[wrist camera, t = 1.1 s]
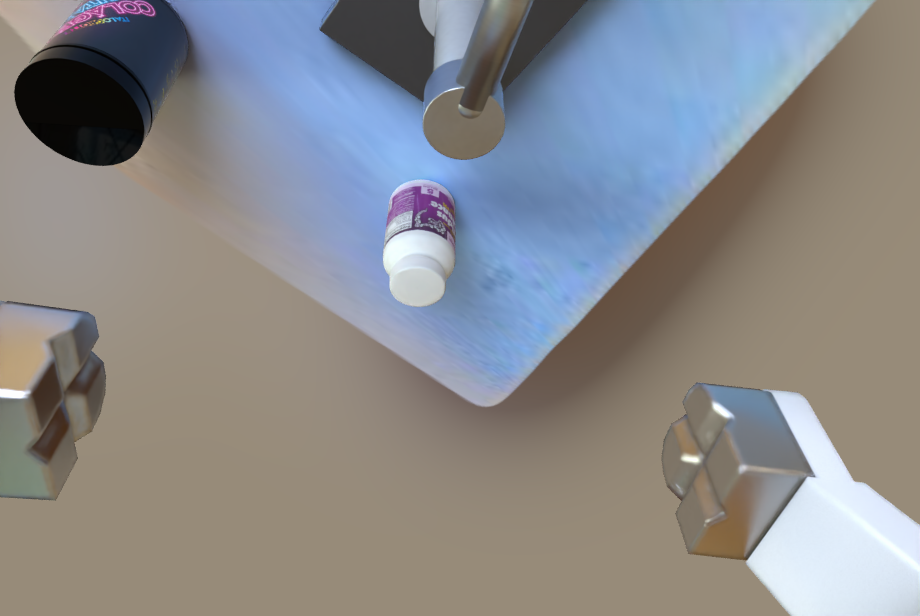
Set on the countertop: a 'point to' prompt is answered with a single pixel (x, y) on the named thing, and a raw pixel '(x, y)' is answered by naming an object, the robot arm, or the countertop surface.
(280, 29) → the countertop surface
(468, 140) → the spout
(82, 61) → the supplement container
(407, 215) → the pill bottle
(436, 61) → the tap stand
